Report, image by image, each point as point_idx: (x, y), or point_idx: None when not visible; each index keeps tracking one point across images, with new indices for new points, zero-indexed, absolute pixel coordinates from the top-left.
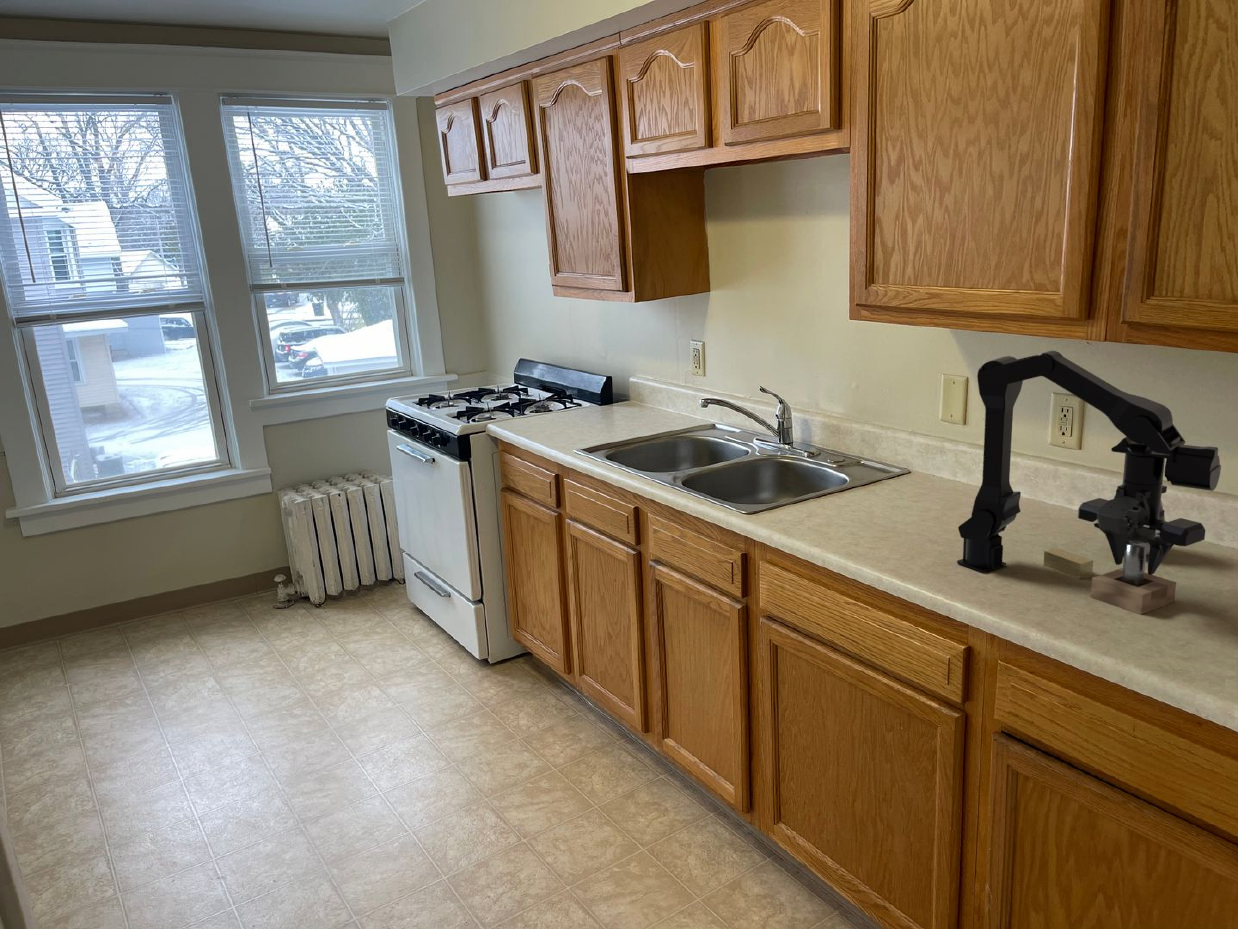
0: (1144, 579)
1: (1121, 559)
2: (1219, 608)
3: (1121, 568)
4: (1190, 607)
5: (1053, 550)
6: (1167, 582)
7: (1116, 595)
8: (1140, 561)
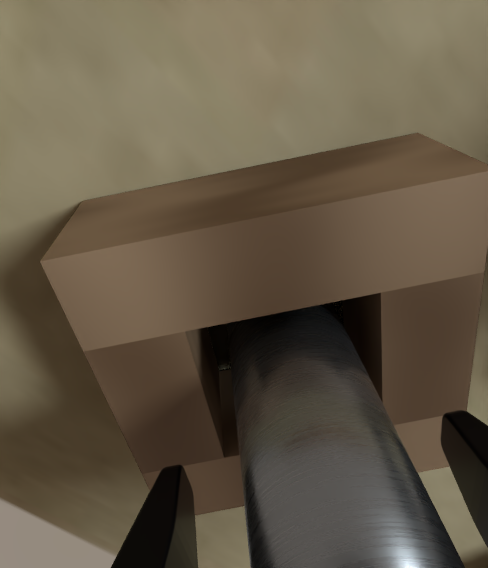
0: None
1: (460, 475)
2: (58, 505)
3: None
4: (98, 440)
5: None
6: None
7: (254, 189)
8: (253, 541)
